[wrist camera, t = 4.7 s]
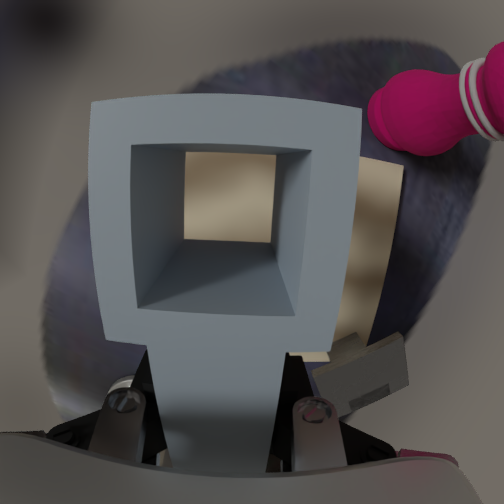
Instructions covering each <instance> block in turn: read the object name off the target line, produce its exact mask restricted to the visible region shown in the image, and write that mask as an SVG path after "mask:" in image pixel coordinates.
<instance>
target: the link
mask: <svg viewBox="0 0 504 504" xmlns="http://www.w3.org/2000/svg"><path fill="white" fill-rule="evenodd" d="M361 124H362V109H360V108H354V107H349V106H343V105H337V104H331V103H325V102H318V101H311V100H303V99H294V98H284V97H273V96H260V95H243V94H170V95H153V96H140V97H130V98H120V99H111V100H104V101H97V102H92V105H91V117H90V131H89V155H88V192H89V217H90V232H91V244H92V254H93V264H94V272H95V279H96V287H97V293H98V300H99V306H100V311H101V317H102V322H103V327H104V332H105V337H106V340H111V341H118V342H126V343H134V344H142V345H147V350H148V356H149V363H150V368H151V374H152V380H153V385H154V390H155V395H156V400H157V405H158V409H159V414H160V418H161V423H162V427H163V431H164V435H165V439H166V443H167V447H168V451H169V455H170V458H171V462H172V465H173V468H177V469H185V470H195V471H208V472H225V473H265V471H266V466H267V461H268V456H269V450H270V445H271V440H272V434H273V429H274V423H275V417H276V411H277V405H278V399H279V393H280V387H281V381H282V374H283V367H284V361H285V354H286V352H327V351H330V350H331V346H332V341H333V337H334V332H335V327H336V323H337V318H338V313H339V308H340V303H341V297H342V292H343V286H344V281H345V275H346V269H347V262H348V256H349V249H350V242H351V235H352V228H353V220H354V211H355V202H356V193H357V183H358V171H359V158H360V143H361ZM186 152H219V153H245V154H263V155H276V168H275V183H274V198H273V213H272V227H271V241H270V243H269V242H246V241H223V240H198V239H184V196H185V161H186Z"/></svg>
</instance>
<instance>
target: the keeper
mask: <svg viewBox="0 0 504 504" xmlns="http://www.w3.org/2000/svg"><path fill="white" fill-rule="evenodd" d="M326 353H327V355H328V358H329V360H330V363H329V364H327V365H324V366H322V367H319V368H317V369H314V370H312V371H311V372H312V375H313V378H314V380H315V383H316V385H317V387H318V390H319V392H320V395H321V397H322V398H324V399H326V400H328V401H329V402H331V403H332V404H333V405H334V406H335V409H336V411H337V416H338V417H341V416H343V415H346V414H348V413H351V412H353V411H355V410H358V409H360V408H362V407H364V406H367V405H369V404H371V403H373V402H375V401H378V400H380V399H382V398H384V397H386V396H388V395H390V394H392V393H394V392H396V391H398V390H400V389H402V388H404V387H406V386H408V385H409V381H408V371H407V362H406V355H405V347H404V340H403V336H402V335H401V334H400V333H399V332H396V333H394V334H392V335H390V336H388V337H386V338H384V339H382V340H380V341H378V342H376V343H374V344H372V345H370V346H368V347H366V346H365V345H364V343H363V342H362V340H361V338H360V337H359V335H358V334H357V332H354V333H352V334H350V335H348V336H345V337H343V338H341V339H338V340H336V341H334V342H332V346H331V350H330V351H327V352H326Z"/></svg>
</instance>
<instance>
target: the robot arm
mask: <svg viewBox="0 0 504 504" xmlns="http://www.w3.org/2000/svg"><path fill="white" fill-rule="evenodd" d="M269 454H274V455H275V456H277V457H278V458H280V459H281V472H278V473H225V472H208V471H195V470H185V469H177V468H173V465H172V462H171V458H170V455H169V451H168V447H167V443H166V439H165V435H164V431H163V427H162V423H161V418H160V414H159V409H158V405H157V400H156V395H155V390H154V385H153V380H152V374H151V368H150V363H149V356H148V350H146V351H145V354H144V356H143V358H142V360H141V363H140V365H139V367H138V369H137V371H136V374H135V375H132V376H127V377H124V378H121V379H119V380H118V381H116V382H115V383H114V384H113V385H112V386H111V388H110V390H109V392H108V394H107V396H106V397H105V399H104V402H103V405H102V408H101V409H100V410H98V411H95V412H93V413H90V414H87V415H85V416H82V417H79V418H77V419H74V420H71V421H68V422H65V423H62V424H60V425H57V426H55V427H53V428H52V429H51V430H50V431H49V432H48V433H45V432H44V430H40V431H18V432H0V504H483V503H482V501H481V500H480V498H479V496H478V494H477V492H476V491H475V489H474V487H473V486H472V484H471V483H470V482H469V480H468V479H467V477H466V476H465V475H464V473H463V472H462V471H461V470H460V469H459V466H458V462H457V461H456V460H455V458H453V457H452V456H451V455H447V454H441V453H430V452H422V451H414V450H407V449H401V450H400V451H395V450H394V449H393V447H392V446H391V445H390V444H388V443H386V442H384V441H382V440H380V439H377V438H375V437H373V436H371V435H368V434H366V433H364V432H362V431H360V430H358V429H356V428H353V427H351V426H349V425H347V424H345V423H343V422H341V421H339V420H338V416H337V411H336V409H335V406H334V405H333V404H332V403H331V402H329V401H328V400H326V399H324V398H320V397H314V395H313V391H312V388H311V385H310V381H309V378H308V375H307V371H306V368H305V365H304V361H303V358H302V356H301V355H290V354H289V352H286V354H285V361H284V367H283V374H282V381H281V387H280V393H279V399H278V405H277V411H276V417H275V423H274V429H273V434H272V440H271V445H270V450H269Z"/></svg>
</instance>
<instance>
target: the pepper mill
mask: <svg viewBox="0 0 504 504" xmlns="http://www.w3.org/2000/svg"><path fill="white" fill-rule="evenodd" d="M368 120H369V124H370V127H371V129H372V131H373V133H374V135H375V136H376V137H377V138H378V140H379V141H380V142H381V143H383V144H384V145H385V146H387V147H388V148H390V149H394V150H397V151H408V152H410V153H412V154H415V155H419V156H432V155H438V154H441V153H443V152H445V151H447V150H449V149H451V148H452V147H453V146H454V145H455V144H456V143H457V142H458V141H460V140H461V139H462V138H464V137H466V136H468V135H473V134H481V135H482V136H483V137H484V138H486V139H488V140H491V141H504V42H501V43H499V44H497V45H495V46H494V47H493V48H492V49H491V50H490V51H489V53H488V55H487V57H486V58H480V59H477V60H476V61H471V62H468V63H467V64H465V66H464V67H463V68H462V70H461V73H460V74H454V75H444V74H439V73H436V72H432V71H428V70H409V71H405V72H402V73H399V74H397V75H395V76H394V77H392V78H391V79H390V80H389V81H388V82H387V84H386V86H385V87H383V88H381V89H379V90H378V91H376V92H375V93H374V94H373V96H372V97H371V99H370V101H369V104H368Z"/></svg>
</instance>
